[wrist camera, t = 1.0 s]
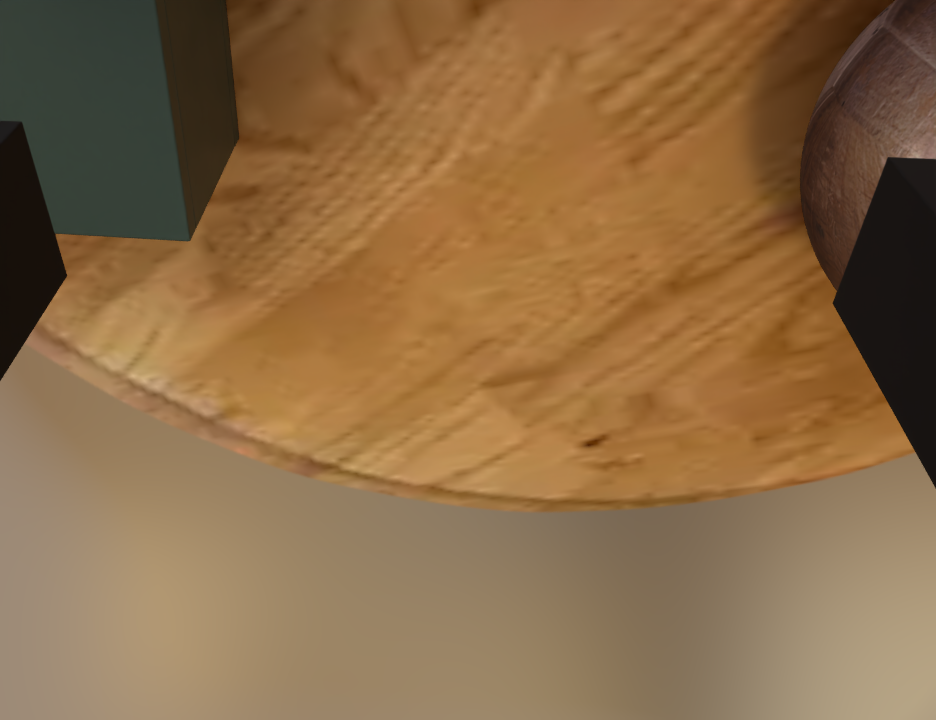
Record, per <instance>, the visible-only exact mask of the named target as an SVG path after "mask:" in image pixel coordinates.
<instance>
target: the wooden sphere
mask: <svg viewBox="0 0 936 720" xmlns="http://www.w3.org/2000/svg"><path fill="white" fill-rule="evenodd" d="M888 157H900V158H925V159H936V0H895V1H894V2H893V3H892V4H891V5H889V6H888V7H887V8H886V9H885V10H883V11H882V12H881V13H880V14H879V15H878V16H877V17H876V18H875V19H874V20H873V21H872V22H871V23H870V24H869V25H868V26H867V27H866V28H865V29H864V30H863V31H862V32H861V34H860V35H859V36H858V37H857V38H856V39H855V40H854V42H853V43H852V44H851V45H850V47H849V48H848V49H847V51H846V52H845V53H844V55H843V56H842V58H841V59H840V60H839V62H838V63H837V65H836V66H835V68H834V70H833V71H832V73H831V75H830V76H829V78H828V80H827V82H826V84H825V86H824V88H823V89H822V91H821V94H820V96H819V98H818V100H817V103H816V105H815V108H814V110H813V113H812V116H811V119H810V122H809V125H808V129H807V133H806V136H805V141H804V146H803V152H802V159H801V171H800V191H801V203H802V211H803V216H804V221H805V225H806V229H807V233H808V236H809V239H810V242H811V245H812V247H813V250H814V252H815V255H816V257H817V259H818V261H819V263H820V265H821V267H822V269H823V270H824V272H825V274H826V276H827V277H828V279H829V280H830V282H831V283H832V285H833V286H834V288H835V289H836V290H837V291H838V288H839V285H840V283H841V280H842V277H843V275H844V272H845V269H846V267H847V264H848V261H849V259H850V256H851V253H852V251H853V248H854V245H855V243H856V240H857V237H858V235H859V232H860V229H861V227H862V224H863V221H864V219H865V216H866V213H867V211H868V208H869V205H870V203H871V200H872V198H873V195H874V192H875V190H876V187H877V184H878V182H879V179H880V176H881V174H882V171H883V168H884V166H885V163H886V160H887V158H888Z"/></svg>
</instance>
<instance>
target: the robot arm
mask: <svg viewBox="0 0 936 720" xmlns="http://www.w3.org/2000/svg"><path fill="white" fill-rule="evenodd" d="M66 277H67V274H66V270H65V267H64V264H63V260H62V257H61V253H60V250H59V246H58V243H57V240H56V236H55V233H54V229H53V226H52V223H51V219H50V216H49V212H48V209H47V205H46V202H45V199H44V195H43V192H42V188H41V185H40V181H39V178H38V175H37V171H36V168H35V164H34V161H33V158H32V154H31V151H30V147H29V144H28V140H27V137H26V134H25V130H24V127H23V123H22V122H21V121H0V380H1V379H2V377H3V376H4V374H5V373H6V371H7V370H8V368H9V366H10V365H11V363H12V362H13V360H14V358H15V357H16V355H17V354H18V352H19V351H20V349H21V347H22V346H23V344H24V343H25V341H26V340H27V338H28V336H29V335H30V333H31V332H32V330H33V329H34V327H35V325H36V324H37V322H38V321H39V319H40V318H41V316H42V314H43V313H44V311H45V310H46V308H47V307H48V305H49V303H50V302H51V300H52V299H53V297H54V296H55V294H56V292H57V291H58V289H59V288H60V286H61V285H62V283H63V281H64V280H65V278H66ZM833 305H834V307H835V308H836V310H837V312H838V314H839V316H840V317H841V319H842V321H843V323H844V324H845V326H846V328H847V330H848V332H849V333H850V335H851V337H852V339H853V341H854V342H855V344H856V346H857V348H858V350H859V351H860V353H861V355H862V357H863V359H864V360H865V362H866V364H867V366H868V368H869V369H870V371H871V373H872V375H873V377H874V378H875V380H876V382H877V384H878V386H879V387H880V389H881V391H882V393H883V394H884V396H885V398H886V400H887V402H888V403H889V405H890V407H891V409H892V411H893V412H894V414H895V416H896V418H897V420H898V421H899V423H900V425H901V427H902V429H903V430H904V432H905V434H906V436H907V438H908V439H909V441H910V443H911V445H912V447H913V448H914V450H915V452H916V454H917V455H918V457H919V459H920V461H921V463H922V464H923V466H924V468H925V470H926V472H927V473H928V475H929V477H930V479H931V481H932V482H933V484H934V486H935V488H936V159H925V158H900V157H888V158H887V160H886V163H885V166H884V168H883V171H882V174H881V176H880V179H879V182H878V184H877V187H876V190H875V192H874V195H873V198H872V200H871V203H870V205H869V208H868V211H867V213H866V216H865V219H864V221H863V224H862V227H861V229H860V232H859V235H858V237H857V240H856V243H855V245H854V248H853V251H852V253H851V256H850V259H849V261H848V264H847V267H846V269H845V272H844V275H843V277H842V280H841V283H840V285H839V288H838V291H837V293H836V296H835V299H834V301H833Z"/></svg>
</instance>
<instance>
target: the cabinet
mask: <svg viewBox="0 0 936 720" xmlns="http://www.w3.org/2000/svg"><path fill="white" fill-rule="evenodd" d="M0 121H21V122H22V123H23V127H24V130H25V134H26V137H27V140H28V144H29V147H30V151H31V154H32V158H33V161H34V164H35V168H36V171H37V175H38V178H39V181H40V185H41V188H42V192H43V195H44V199H45V202H46V205H47V209H48V212H49V216H50V219H51V223H52V226H53V229H54V233H55V234H72V235H89V236H106V237H123V238H141V239H158V240H175V241H190V240H191V238H192V236H193V234H194V232H195V229H196V228H197V225H198V223H199V221H200V219H201V217H202V215H203V213H204V211H205V208H206V206H207V204H208V202H209V200H210V198H211V196H212V194H213V191H214V189H215V187H216V185H217V183H218V181H219V179H220V177H221V175H222V172H223V170H224V168H225V166H226V164H227V162H228V160H229V158H230V155H231V153H232V151H233V149H234V147H235V146H236V143H237V141H238V139H239V132H238V122H237V111H236V101H235V91H234V80H233V70H232V60H231V50H230V39H229V29H228V19H227V8H226V0H0Z"/></svg>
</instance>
